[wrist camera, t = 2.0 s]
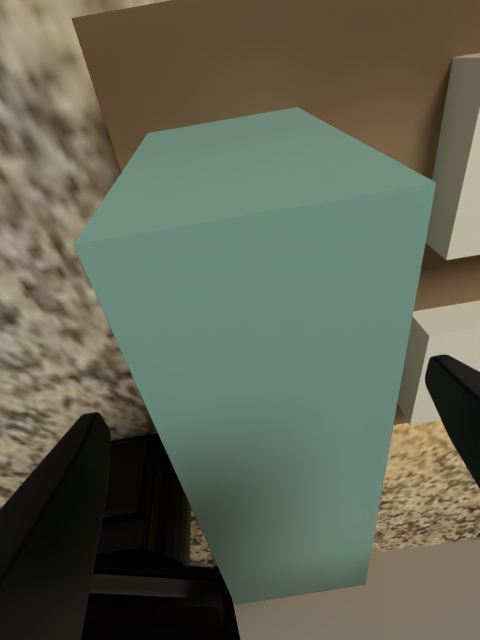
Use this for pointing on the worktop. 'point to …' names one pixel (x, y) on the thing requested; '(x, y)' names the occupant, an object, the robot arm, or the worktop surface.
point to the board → (291, 80)
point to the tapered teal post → (267, 332)
